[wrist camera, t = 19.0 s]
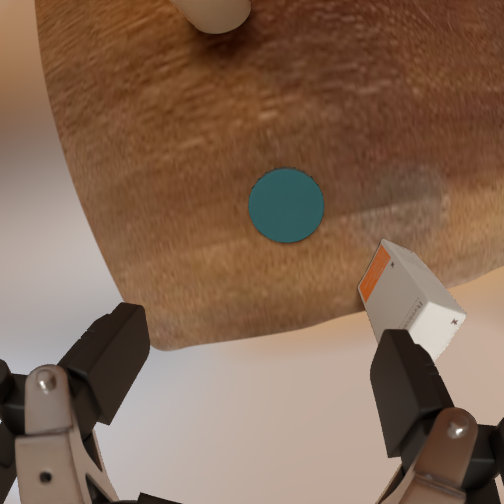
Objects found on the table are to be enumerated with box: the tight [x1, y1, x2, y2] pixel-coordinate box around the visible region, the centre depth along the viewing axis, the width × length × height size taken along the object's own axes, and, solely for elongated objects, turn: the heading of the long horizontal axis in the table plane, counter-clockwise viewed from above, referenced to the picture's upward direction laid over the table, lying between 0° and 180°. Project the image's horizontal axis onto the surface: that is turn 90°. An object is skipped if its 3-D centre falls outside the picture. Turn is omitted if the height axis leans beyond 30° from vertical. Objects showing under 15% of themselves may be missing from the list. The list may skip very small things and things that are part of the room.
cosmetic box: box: [358, 239, 467, 362], centre depth 23 cm, size 6×4×12 cm
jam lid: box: [248, 166, 324, 243], centre depth 27 cm, size 7×7×2 cm
